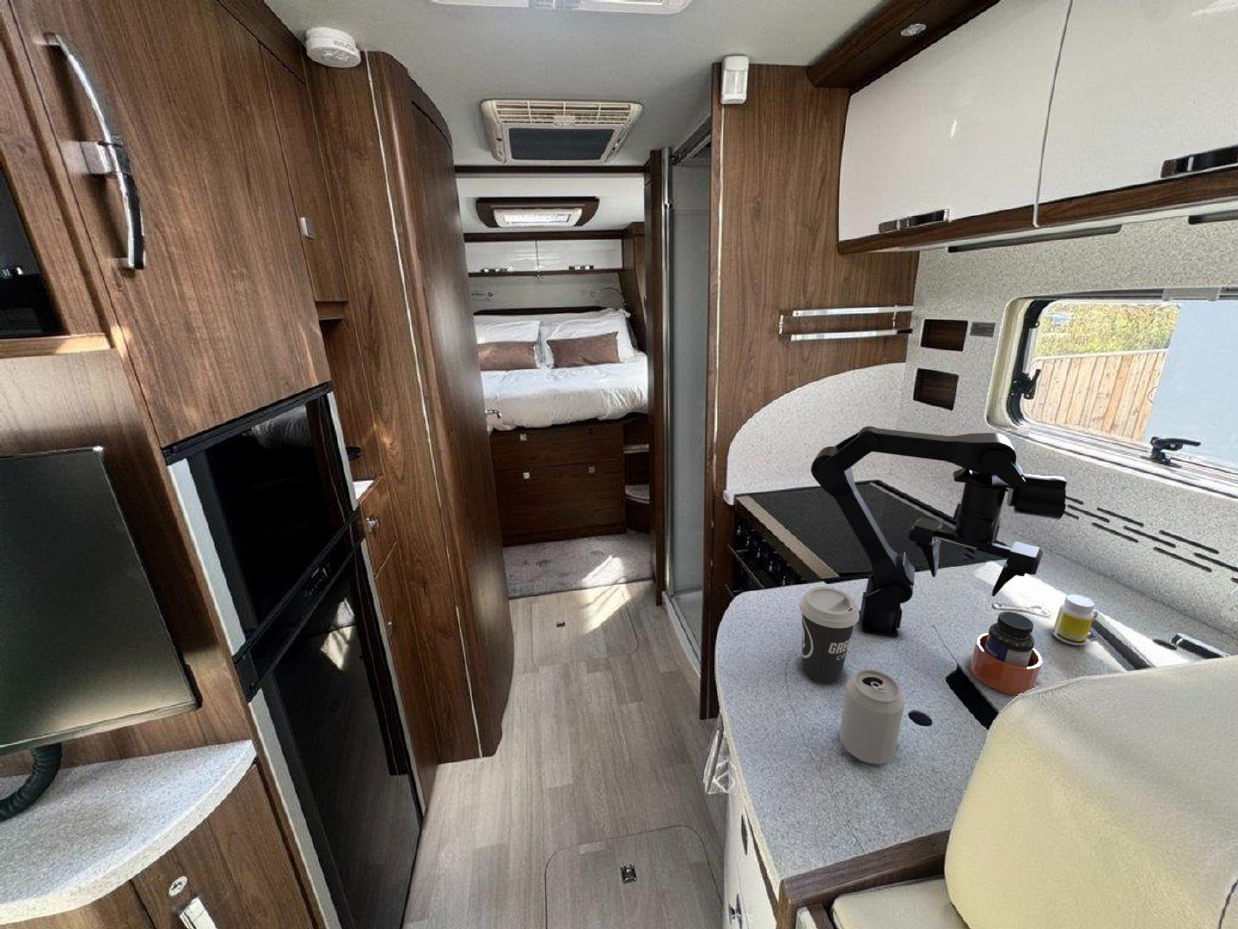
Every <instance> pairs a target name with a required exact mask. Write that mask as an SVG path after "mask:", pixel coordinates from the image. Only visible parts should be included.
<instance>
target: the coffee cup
mask: <svg viewBox="0 0 1238 929" xmlns="http://www.w3.org/2000/svg"><path fill="white" fill-rule="evenodd" d="M798 607H799V610H800V612H801V639H802V640H801V668H802V671H803V673H804V674H805V676H807V677H808V678H809V679H811V680H812V681H815V682H816V683H819V684H827V685H828V684H834V683H836V682H838V681H839V680H840V679H841V676H842V673H843V668H844V665H845V661H846V657H847V653H848V650H849V646H850V643H851V639H852V636H853V631H854V629H855V625H856V624H857V623H858V622H859V621H860V620H859V611H860V610H859V608H858V606H857V605H856V601H855V599H854V598H853V597H852V596H851V595H850V594H848V593H847V592H845V591H843V590H841V589H838V588H836V587H835V588H834V587H831V586H815V587H812V588H810V589H808V590H807V591H806V593H805V594H804V595H802V598H801V599H800V601H799V604H798Z"/></svg>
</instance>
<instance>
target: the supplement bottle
mask: <svg viewBox="0 0 1238 929" xmlns="http://www.w3.org/2000/svg"><path fill="white" fill-rule="evenodd" d="M1094 608H1095V603H1094V601H1093V600H1091V599H1089V598H1087V597H1085V596H1083V595H1078V594H1067V595H1066V597H1065V599H1064V602H1063V603H1062V604H1060V606H1059V610H1058V613H1057V616H1056V619H1055V622H1054V625H1053V629H1052V634H1053V636H1054V637H1056V638H1057V639H1058V640H1060V641H1061V642H1063V643H1065V644H1068V645H1072V646H1082V645H1084V644H1085V643H1086V642H1087V638H1088V635H1089V633H1090V629H1091V626H1092V624H1093V620H1094V617H1095V615H1094V610H1095V609H1094Z"/></svg>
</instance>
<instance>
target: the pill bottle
mask: <svg viewBox="0 0 1238 929" xmlns="http://www.w3.org/2000/svg"><path fill="white" fill-rule="evenodd" d="M996 621H997V622H995V623H993V624H992V625H990V627H989V629H988V632H987V633H988V637H987V640H986V644H985V648H984V650H985V651H986V652H987V653H988V654H989V655H991V656H992V657H994V658H995V659H997V660H1000V661H1002V662H1004V663H1007V664H1010V665H1014V666H1020V667H1027V666H1028V662H1029V659H1030V656H1031V653H1032V649H1033V648H1034V647H1035V638H1034V637H1033V635H1032V633H1033V631H1034V622H1033V621H1032V620H1031V619H1030V618H1028V617H1027V616H1024V615H1023V614H1020V613H1017V612H1015V611H1001V612H999V614H998V617H997V620H996Z"/></svg>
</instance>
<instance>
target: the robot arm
mask: <svg viewBox="0 0 1238 929" xmlns="http://www.w3.org/2000/svg"><path fill="white" fill-rule="evenodd" d="M871 453H878V454H879V453H880V454H888V455H895V456H903V457H911V458H918V459H925V460H926V459H927V460H934V461H941V462H945V463H950V464H953V465H955V466H958V467H959V468H960V469H957V470H955V471H953V473H952V476H953V482H956V483H962V484H964V486H963V490H962V495H961V500H960V502H957V504H956V507H955V510H954V512H953V515H952V516H953V517H952V519H953V520H955V521H956V524H955V529H954V532H953V531H949V530H946V529H943V522H941V521H937V520H933V519H929V518H925V517H920V518H919V519H917V520H916V521H915V522H914V523H913V524H912V525H911V527H910V529H909V533H908V540H909V541H911V542H915V546H916V547H919V548H920V549H921V551H922V553H923V555H924V556H925V559H926V561H927V565H928V568H929V571H930V574H931V577H933V578H935V577H936V576H937V573H938V569H939V560H940V549H941V548H940V547H941V543H942V541H943V542H946V543H950V544H953V545H958V546H961V547H964V548H968V549H971V550H974V551H978V552H982V553H986V554H990V555H993V556H996V557H1000V558H1003V559H1006V561H1005V563H1004V565H1003V567H1002V569H1001V571H1000V573H999V575H998V578H997V580H996V582H995V584H994V586H993V588H992V592H991V597H995V596H996V595H997V594H998V593H999V592H1000V591H1001V590H1002V588H1003V587H1004V586H1005V585H1006V584H1007V583H1008V582H1010V581H1011V580H1012V579H1014V578H1015V577H1016V576H1018V577H1025V576H1026V574H1027V575H1029V576H1033V575H1034V576H1035V575H1037V572H1038V569H1039V568H1040V567H1039V566H1040V564H1041V561H1042V557H1043V554H1044V552H1043V550H1042V549H1041V547H1039V546H1035V545H1031V544H1027V543H1024V542H1019V541H1014V542H1013V544H1012V546H1011V547H1010V546H1007V545H1002V544H998V543H995V541H996V540H997V538H998V536H999V532H1000V527H1001V520H1002V517H1001V513H1002V509H1003V504H1004V500H1005V496H1006V492H1007V489H1008V492H1007V498H1006V505H1007V507H1010V508H1012V507H1013V513H1014V514H1018V515H1024V516H1029V517H1037V518H1045V519H1051V520H1056V521H1057V520H1061V519H1062V517H1064V514H1065V512H1066V508H1067V503H1066V498H1067V490H1066V487H1067V483H1068V482H1067V480H1066V479H1065V478H1064V477H1063V476H1056V475H1052V476H1051V475H1050V476H1048V475H1047V476H1046V475H1036V474H1028V473H1024V472H1023V470H1022V468H1021V466H1020V465H1018V464H1017V463H1016V462H1017V453H1016V450H1015V448H1014V447H1013V445H1012V443H1011V441H1010V440H1009V439H1008V437H1006V436H1005V435H1003V434H1001V433H997V432H974V433H971V432H970V433H965V434H959V435H944V434H943V435H942V434H934V433H923V432H916V431H906V430H897V429H888V428H880V427H875V426H874V425H873V426H872V425H868V426H864V427H862V428H861V429H860V430H859V431H858V432H856V433H854V434H853V435H851V436H849V437H847V438H845V439H844V440H841V441H840V442H838V444H836V445H833V446H831V445H830V446H829V445H828V446H826V447H823V448H822V449H821V450H819V451H818V453H817V454H816V456H815V458H814V460H813V461H812V464H811V465H810V466H811V467H810V473H811V476H812V477H813V478H814V480H815V481H816V482H817V484H818V485H819V486H820V488H822V489H823V491H824V492H826V493H827V494H829V495H830V496H831V497H832V498H834V500H835V501H836V503H837V506H839V508H840V510H841V512H842V514H843V515H844V517H845V519H846V521H847V523H848V524H849V526H850V528H851V530H852V531H853V533H854V535H855V537H856V538H857V540H858V542H859V543H860V545H861V547H862V549H863V550H864V552H865V554H866V556H867V558H868V560H869V561H870V565H871V570H872V574H870V575H868V578H867V583H866V588H865V591H863V592H862V598H861V604H860V610H858V611H859V620H858V621H859V624H860V627H861V631H862V632H864V633H869V634H876V635H883V636H891V637H898V636H899V631H898V629H900V628H901V622H902V617H903V610H902V607H901V605H902V604H905V603H907V602H908V601H910V600H911V599H912V597H913V595H914V586H915V576H916V575H915V574H916V573H915V572H916V568H915V566H913V565H912V564H911V562H910V561H909V559H908V556H907V553H906V552H905V551H902V552H900V553H897V552H896V551H894V550H893V549H892V547H890V544H889V543H888V541H887V539H886V538H885V536H884V534H883V532H882V530H881V529H880V527H879V526H878V523H877V521H875V520H876V519H874V516H873V515H872V513H871V511H870V509H869V508H868V506H867V504H866V503H865V500H864V498H863V497H862V495H861V493H860V492H859V489H858V488H857V486H856V483H855V478H854V473H853V469H852V467H853V466H855V464H857V463H858V462H860V461H861V460H862V459H863V458H865V457H866V456H868V455H869V454H871Z"/></svg>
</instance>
